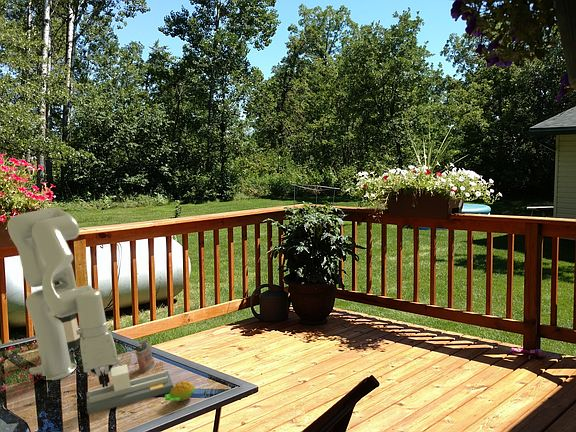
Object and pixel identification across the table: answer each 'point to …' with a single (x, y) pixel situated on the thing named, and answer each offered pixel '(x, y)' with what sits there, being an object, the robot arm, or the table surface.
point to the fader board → (129, 392)
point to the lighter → (144, 356)
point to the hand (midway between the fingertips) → (105, 385)
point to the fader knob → (120, 377)
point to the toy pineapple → (180, 391)
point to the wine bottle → (70, 328)
